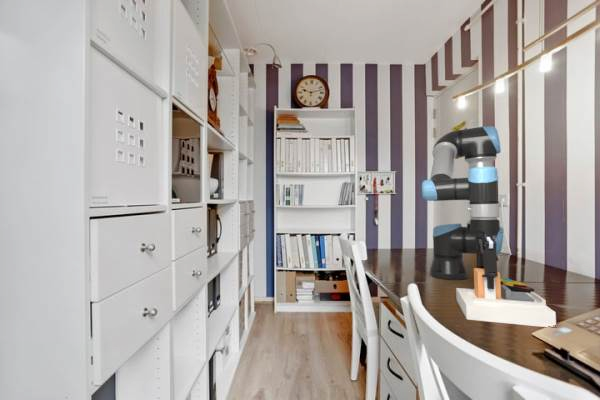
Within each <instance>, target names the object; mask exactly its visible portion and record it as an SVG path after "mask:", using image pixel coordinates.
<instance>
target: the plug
mask: <svg viewBox="0 0 600 400" xmlns="http://www.w3.org/2000/svg"><path fill="white" fill-rule="evenodd" d="M484 274H485V272H484V269H481V268H477V267H474V268H473V281H474V282H473V283H474V284H473V286H474V288H473V289H474V290H475V295H476V297H477V298H484V277H482V275H484ZM497 274H498V276H497V277H495V286H496V299H501V284H500V278H501V272H499V271H498V270H497Z"/></svg>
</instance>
